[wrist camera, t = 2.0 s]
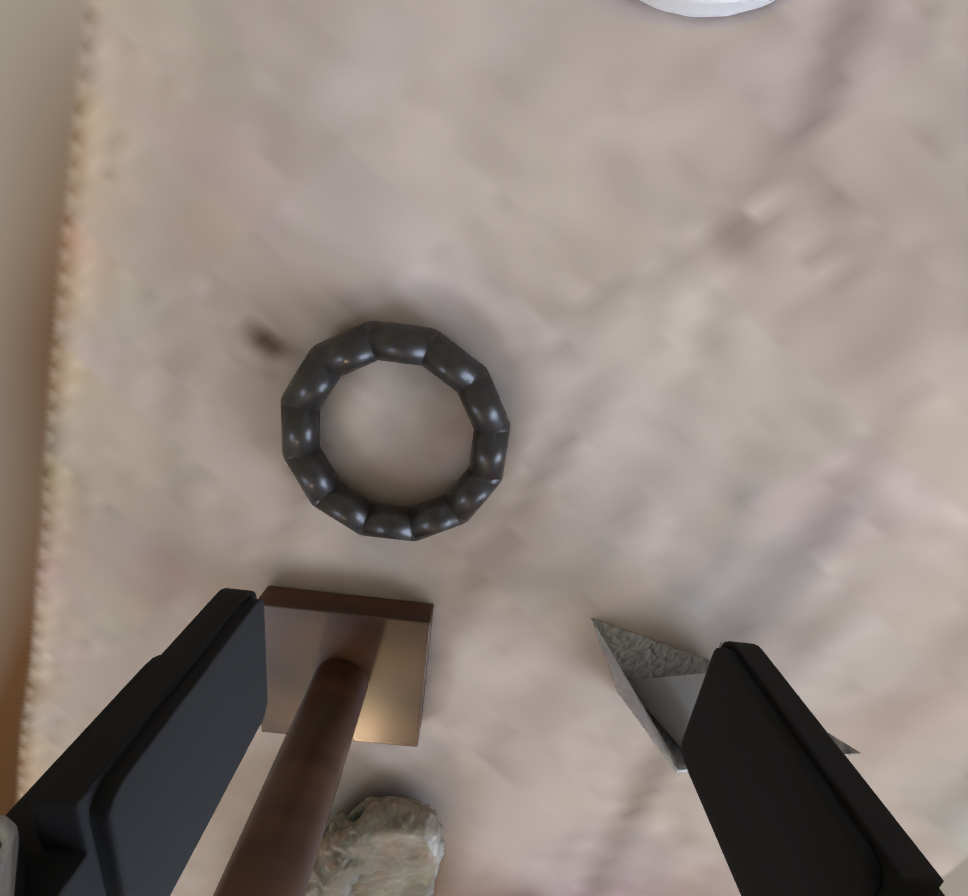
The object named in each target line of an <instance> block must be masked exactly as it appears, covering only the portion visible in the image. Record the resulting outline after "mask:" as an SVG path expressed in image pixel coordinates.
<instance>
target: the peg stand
mask: <svg viewBox="0 0 968 896" xmlns="http://www.w3.org/2000/svg"><path fill="white" fill-rule="evenodd" d="M259 599H261V600H263V602H264V614H265V641H266V668H267V695H268V702H267V708H266V712H265V715H264V718H263V720H262V722H261V725H262V731H263V732H273V733H283V734H286V736H285V738H284V741H283V743H282V745H281V747H280V749H279V752H278V754H277V756H276V758H275V760H274V763H273V765H272V767H271V769H270V771H269V774H268V776H267V778H266V780H265V782H264V785H263V787H262V789H261V791H260V793H259V796H258V798H257V800H256V802H255V804H254V807H253V809H252V811H251V813H250V815H249V818H248V820H247V822H246V824H245V826H244V829H243V831H242V833H241V835H240V837H239V840H238V842H237V844H236V846H235V848H234V851H233V853H232V855H231V857H230V859H229V862H228V864H227V866H226V868H225V870H224V873H223V875H222V877H221V879H220V881H219V884H218V886H217V888H216V890H215V893H214V895H213V896H305V894H306V891H307V887H308V884H309V881H310V877H311V874H312V871H313V867H314V864H315V861H316V858H317V854H318V851H319V848H320V844H321V841H322V838H323V834H324V831H325V828H326V825H327V821H328V818H329V815H330V811H331V808H332V805H333V801H334V798H335V795H336V791H337V788H338V785H339V782H340V778H341V775H342V772H343V768H344V765H345V762H346V758H347V755H348V752H349V749H350V745H351V742H352V740H353V741H363V742H373V743H383V744H393V745H404V746H414V747H417V746H418V740H419V734H420V727H421V719H422V710H423V700H424V691H425V682H426V672H427V663H428V654H429V644H430V635H431V626H432V616H433V607H434V606H433V604H426V603H417V602H408V601H399V600H390V599H381V598H371V597H362V596H353V595H344V594H335V593H326V592H317V591H308V590H299V589H290V588H281V587H272V586H268V587H267V588H266V590H265V591H264V592H263V594H262V595H261V596H260V598H259Z"/></svg>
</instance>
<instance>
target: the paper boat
mask: <svg viewBox="0 0 968 896" xmlns="http://www.w3.org/2000/svg"><path fill="white" fill-rule="evenodd" d="M591 619H592V618H591ZM592 622H593V625H594V627H595V630H596V633H597V636H598V638H599V641H600V644H601V647H602V650H603V652H604V655H605V658H606V661H607V664H608V666H609V669H610V672H611V675H612V677H613V680H614V683H615V686H616V689H617V691H618V693H619V695H620V696H621V697H622V699H623V700H624V701H625V703H626V704H627V706H628V707H629V708H630V710H631V711H632V713H633V714H634V715H635V717H636V718H637V720H638V721H639V722H640V724H641V725H642V726H643V728H644V729H645V731H646V732H647V733H648V735H649V736H650V738H651V739H652V740H653V742H654V743H655V744H656V746H657V747H658V749H659V750H660V751H661V753H662V754H663V756H664V757H665V758H666V760H667V761H668V763H669V764H670V765H671V767H672V768H673V769H674V771H675V772H688V770H687V768H686V765H685V763H684V760H683V756H682V750H681V744H682V739H683V736H684V734H685V731H686V728H687V725H688V722H689V720H690V717H691V714H692V711H693V708H694V706H695V703H696V700H697V697H698V694H699V691H700V689H701V686H702V683H703V680H704V677H705V675H706V672H707V669H708V666H709V663H710V661H709V660H708V659H705V658H702V657H700V656H697V655H694V654H691V653H688V652H685V651H682V650H680V649H677V648H674V647H671V646H668V645H665V644H663V643H660V642H657V641H654V640H651V639H648V638H646V637H643V636H640V635H637V634H634V633H631V632H629V631H626V630H623V629H620V628H617V627H614V626H612V625H609V624H606V623H603V622H600V621H597V620H595V619H592ZM722 644H723V643H721V644H720V646H719V648H721V646H722ZM828 734H829V733H828ZM829 736H830V737H831V738H832V739H833V741H834V742H835V743H836V744H837V746H838V747H839V748H840V750H841V751H842V752H843V753H844V755H845V756H846V755H852V754H857V753H860V752H858V751H857V750H855V749H853V748H852V747H850V746H849V745H847V744H845V743H844V742H842V741H840V740H839V739H837V738H835V737H834V736H832V735H831V734H829Z"/></svg>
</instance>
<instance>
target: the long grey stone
mask: <svg viewBox="0 0 968 896" xmlns="http://www.w3.org/2000/svg"><path fill="white" fill-rule="evenodd" d="M444 853H445V851H444V839H443V833H442V825H441V824H440V822H439V821H438V818H437V813H436V810H435V809H433V808H432V807H431V806H430V805H428V804H424V803H422V802H419V801H417V800H414V799H411V798H407V797H404V798H402V797H395V796H386V797H381V798H377V797H374V796H370V797H367V798H366V799H365V801H362V802H361V803H360V804H359V805H358V806H356V807H355V809H353V811H351V812H350V814H349V815H348V816H346V815H345V813H344V812H343V811H341V812H340V813H338V815H337V816H336V817H334V818H333V820H332V821H331V823H330V825H329V830H328V831H327V832H326V834H324V835H323V838H322V841H321V844H320V848H319V851H318V854H317V858H316V861H315V864H314V867H313V871H312V874H311V877H310V881H309V884H308V887H307V891H306V894H305V896H432V895H433V894H434V885H435V879H436V877H437V875H438V872H439V864H440V861H441V859H442V857H443V856H444Z"/></svg>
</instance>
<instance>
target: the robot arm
mask: <svg viewBox="0 0 968 896" xmlns="http://www.w3.org/2000/svg"><path fill="white" fill-rule="evenodd" d="M639 1H641V2H643V3H645V4H647V5H649V6H651V7H653V8H655V9H657V10H660V11H665V12H669V13H674V14H678V15H683V16H687V17H692V18H693V17H727V16H731V15H734V14H738V13H742V12H746V11H750V10H754V9H757V8H761V7H763V6H765V5H767V4H770V3H772V2H774V1H776V0H639ZM267 702H268V695H267V668H266V641H265V614H264V602H263V600H261V599H257V598H256V594H255V592H253V591H248V590H239V589H229V588H224V589H221V590H220V591H219V592H218V593H217V594H216V595H215V596H214V597H213V598H212V600H211V601H210V602H209V603H208V604H207V605H206V606H205V607H204V608H203V609H202V610H201V612H200V613H199V614H198V615H197V616H196V617H195V618H194V619H193V620H192V621H191V623H190V624H189V625H188V626H187V627H186V628H185V629H184V630H183V631H182V632H181V634H180V635H179V636H178V637H177V638H176V639H175V640H174V641H173V642H172V643H171V645H170V646H169V647H168V648H167V649H166V650H165V651H164V652H163V653H162V654H161V655H158V656H156V657H154V658H152V659H151V660H150V661H149V662H148V663H147V664H146V665H145V666H144V667H143V668H142V669H141V670H140V671H139V672H138V673H137V674H136V675H135V676H134V677H133V678H132V680H131V681H130V682H129V683H128V684H127V685H126V686H125V687H124V688H123V689H122V690H121V691H120V692H119V694H118V695H117V696H116V697H115V698H114V699H113V700H112V701H111V702H110V703H109V704H108V705H107V706H106V708H105V709H104V710H103V711H102V712H101V713H100V714H99V715H98V716H97V717H96V718H95V719H94V720H93V722H92V723H91V724H90V725H89V726H88V727H87V728H86V729H85V730H84V731H83V732H82V733H81V734H80V736H79V737H78V738H77V739H76V740H75V741H74V742H73V743H72V744H71V745H70V746H69V747H68V748H67V750H66V751H65V752H64V753H63V754H62V755H61V756H60V757H59V758H58V759H57V760H56V761H55V762H54V764H53V765H52V766H51V767H50V768H49V769H48V770H47V771H46V772H45V773H44V774H43V775H42V776H41V778H40V779H39V780H38V781H37V782H36V783H35V784H34V785H33V786H32V787H31V788H30V789H29V790H28V792H27V793H26V794H25V795H24V796H23V797H22V798H21V799H20V800H19V801H18V802H17V803H16V804H15V806H14V807H13V808H12V809H11V810H10V811H9V812H8V813H7V814H6V815H5V816H2V815H0V896H170V895H171V893H172V891H173V889H174V887H175V885H176V883H177V881H178V879H179V878H180V876H181V874H182V872H183V870H184V868H185V866H186V864H187V862H188V861H189V859H190V857H191V855H192V853H193V851H194V849H195V847H196V845H197V843H198V842H199V840H200V838H201V836H202V834H203V832H204V830H205V828H206V826H207V825H208V823H209V821H210V819H211V817H212V815H213V813H214V811H215V809H216V808H217V806H218V804H219V802H220V800H221V798H222V796H223V794H224V792H225V790H226V789H227V787H228V785H229V783H230V781H231V779H232V777H233V775H234V773H235V772H236V770H237V768H238V766H239V764H240V762H241V760H242V758H243V756H244V755H245V753H246V751H247V749H248V747H249V745H250V743H251V741H252V739H253V737H254V736H255V734H256V732H257V730H258V728H259V726H260V724H261V722H262V720H263V718H264V715H265V712H266V708H267ZM681 750H682V756H683V760H684V763H685V765H686V768H687V770H688V772H689V775H690V777H691V779H692V782H693V784H694V786H695V789H696V791H697V793H698V796H699V798H700V800H701V803H702V805H703V807H704V810H705V812H706V814H707V817H708V819H709V821H710V824H711V826H712V828H713V831H714V833H715V835H716V838H717V840H718V842H719V845H720V847H721V849H722V852H723V854H724V856H725V859H726V861H727V863H728V866H729V868H730V870H731V873H732V875H733V877H734V880H735V882H736V884H737V887H738V889H739V892H740V894H741V896H945V895H944V894H943V893H942V891H941V890H940V889H939V887H940V886H941V884H942V883H943V882H944V881H943V879H942V878H941V877H940V875H939V874H938V873H937V872H936V870H935V869H934V868H933V867H932V865H931V864H930V863H929V861H928V860H927V859H926V858H925V856H924V855H923V854H922V853H921V851H920V850H919V849H918V848H917V846H916V845H915V844H914V842H913V841H912V840H911V839H910V837H909V836H908V835H907V834H906V832H905V831H904V830H903V828H902V827H901V826H900V825H899V823H898V822H897V821H896V820H895V818H894V817H893V816H892V814H891V813H890V812H889V811H888V809H887V808H886V807H885V806H884V804H883V803H882V802H881V800H880V799H879V798H878V797H877V795H876V794H875V793H874V792H873V790H872V789H871V788H870V786H869V785H868V784H867V783H866V781H865V780H864V779H863V778H862V776H861V775H860V774H859V772H858V771H857V770H856V769H855V767H854V766H853V765H852V764H851V762H850V761H849V760H848V758H847V757H846V756H845V755H844V753H843V752H842V751H841V750H840V748H839V747H838V746H837V744H836V743H835V742H834V741H833V739H832V738H831V737H830V736H829V734H828V733H827V732H826V730H825V729H824V728H823V727H822V725H821V724H820V723H819V722H818V720H817V719H816V718H815V716H814V715H813V714H812V713H811V711H810V710H809V709H808V708H807V706H806V705H805V704H804V702H803V701H802V700H801V699H800V697H799V696H798V695H797V694H796V692H795V691H794V690H793V688H792V687H791V686H790V685H789V683H788V682H787V681H786V680H785V678H784V677H783V676H782V674H781V673H780V672H779V671H778V669H777V668H776V667H775V666H774V664H773V663H772V662H771V660H770V659H769V658H768V657H767V655H766V654H765V653H764V652H763V650H762V649H761V648H760V647H759V646H757V645H755V644H750V643H740V642H731V641H728V642H725V643H723V644H722V646H721V648H717V649H715V651H714V652H713V655H712V658H711V661H710V663H709V666H708V669H707V672H706V675H705V677H704V680H703V683H702V686H701V689H700V691H699V694H698V697H697V700H696V703H695V706H694V708H693V711H692V714H691V717H690V720H689V722H688V725H687V728H686V731H685V734H684V736H683V739H682V744H681Z"/></svg>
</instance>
